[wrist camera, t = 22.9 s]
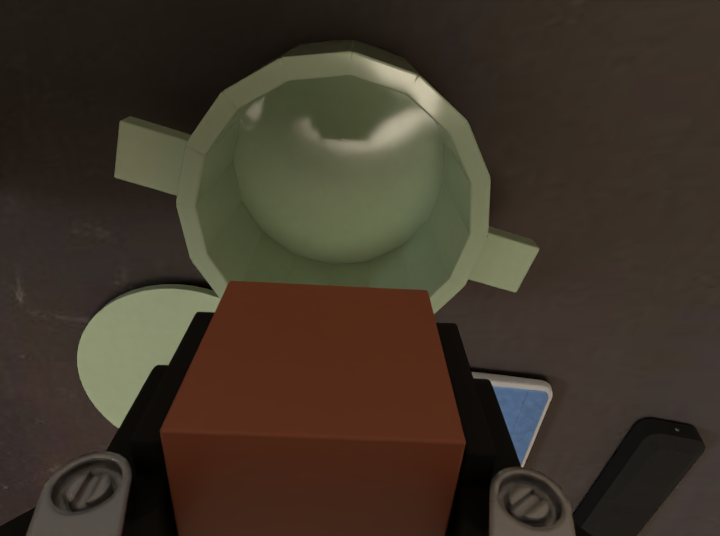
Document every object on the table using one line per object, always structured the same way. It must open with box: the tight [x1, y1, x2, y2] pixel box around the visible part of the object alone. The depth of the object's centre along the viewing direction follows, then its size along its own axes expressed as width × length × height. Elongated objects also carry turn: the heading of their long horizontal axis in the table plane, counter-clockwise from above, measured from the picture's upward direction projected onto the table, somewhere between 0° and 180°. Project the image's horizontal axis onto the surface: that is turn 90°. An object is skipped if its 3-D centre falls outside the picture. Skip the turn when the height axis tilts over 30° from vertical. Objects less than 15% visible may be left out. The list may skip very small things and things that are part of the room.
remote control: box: [572, 419, 705, 536], centre depth 39 cm, size 5×2×15 cm
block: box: [160, 281, 466, 536], centre depth 10 cm, size 4×4×4 cm
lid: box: [77, 284, 221, 428], centre depth 31 cm, size 14×14×5 cm
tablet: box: [472, 372, 553, 467], centre depth 37 cm, size 19×13×1 cm, turn 173°
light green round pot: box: [114, 40, 539, 314], centre depth 24 cm, size 13×18×8 cm
